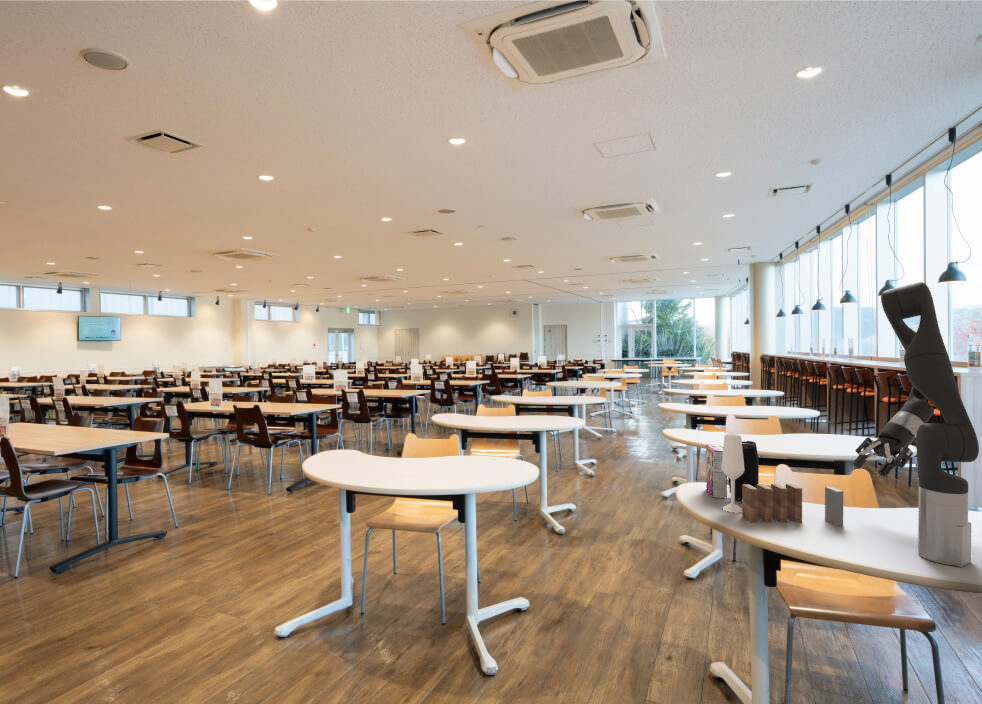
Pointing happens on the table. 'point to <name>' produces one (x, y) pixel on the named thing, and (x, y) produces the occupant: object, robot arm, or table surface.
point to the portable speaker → (747, 469)
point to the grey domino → (834, 506)
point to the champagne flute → (732, 465)
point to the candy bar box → (715, 471)
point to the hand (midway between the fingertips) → (867, 470)
